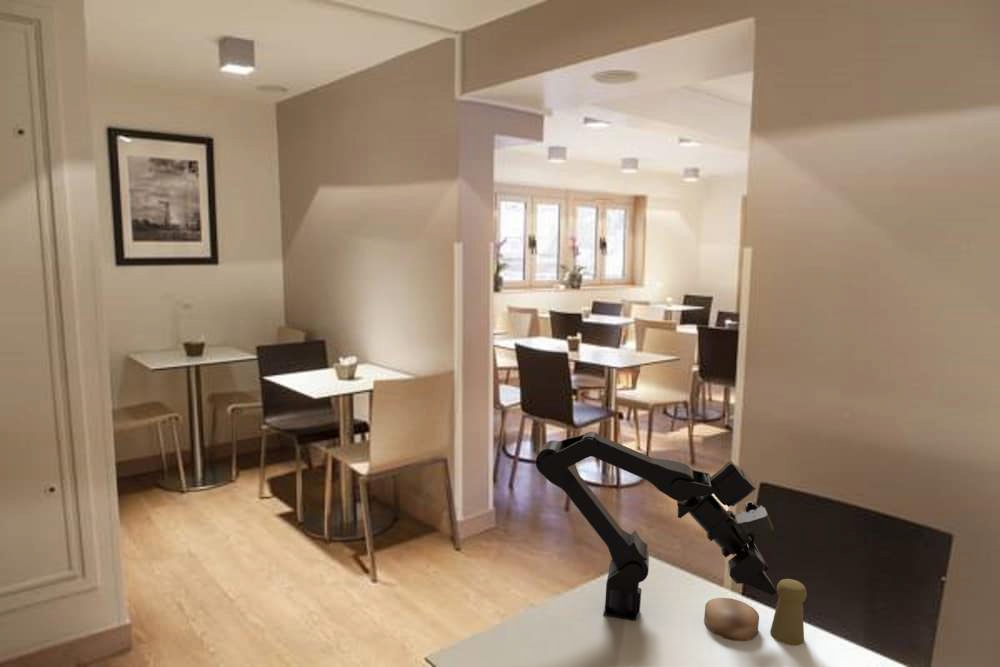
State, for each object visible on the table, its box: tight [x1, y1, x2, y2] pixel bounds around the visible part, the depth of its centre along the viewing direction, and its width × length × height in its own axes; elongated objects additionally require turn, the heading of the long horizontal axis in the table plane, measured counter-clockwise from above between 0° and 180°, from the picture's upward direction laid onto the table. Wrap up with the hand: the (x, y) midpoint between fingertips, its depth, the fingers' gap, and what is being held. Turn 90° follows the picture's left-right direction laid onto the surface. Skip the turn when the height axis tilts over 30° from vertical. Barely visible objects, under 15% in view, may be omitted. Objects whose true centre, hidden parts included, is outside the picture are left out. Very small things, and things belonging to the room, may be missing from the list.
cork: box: [769, 578, 808, 647], centre depth 125 cm, size 6×6×11 cm
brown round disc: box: [703, 597, 760, 642], centre depth 129 cm, size 10×10×3 cm
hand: (770, 581), depth 125 cm, fingers open, 9 cm apart
